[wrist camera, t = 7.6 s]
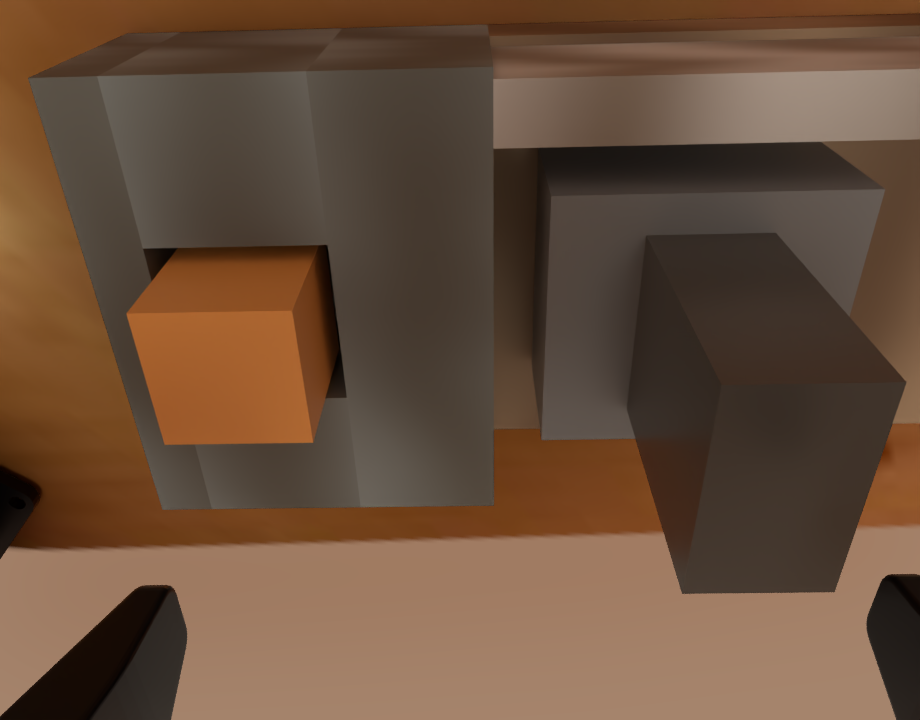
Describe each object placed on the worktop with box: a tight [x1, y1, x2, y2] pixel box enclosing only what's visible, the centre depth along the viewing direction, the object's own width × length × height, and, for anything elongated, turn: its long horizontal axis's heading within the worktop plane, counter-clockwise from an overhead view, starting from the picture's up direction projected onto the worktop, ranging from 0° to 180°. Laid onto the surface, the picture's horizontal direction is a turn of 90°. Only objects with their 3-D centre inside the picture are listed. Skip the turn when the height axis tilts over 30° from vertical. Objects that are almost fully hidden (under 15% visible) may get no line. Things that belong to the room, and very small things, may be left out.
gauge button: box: [126, 245, 339, 445], centre depth 16 cm, size 3×3×4 cm
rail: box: [28, 14, 920, 510], centre depth 17 cm, size 26×10×4 cm, turn 91°
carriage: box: [532, 142, 907, 594], centre depth 14 cm, size 6×6×8 cm
